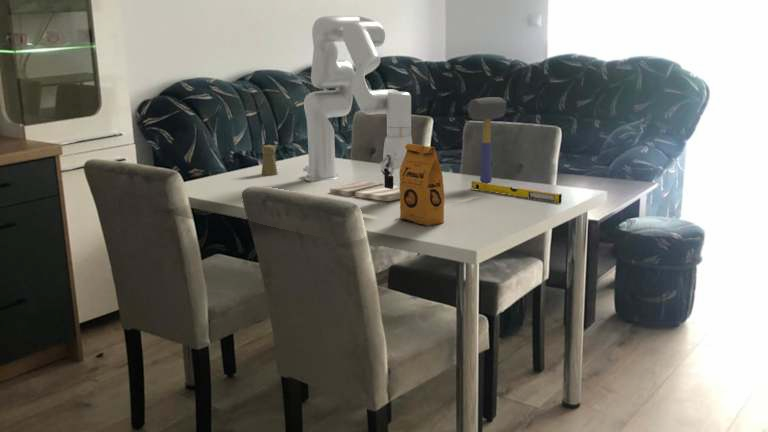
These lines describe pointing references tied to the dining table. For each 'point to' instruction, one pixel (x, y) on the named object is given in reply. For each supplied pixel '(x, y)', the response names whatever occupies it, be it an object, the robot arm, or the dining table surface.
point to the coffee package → (421, 186)
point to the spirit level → (518, 191)
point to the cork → (269, 161)
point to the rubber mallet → (486, 128)
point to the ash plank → (380, 193)
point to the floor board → (358, 186)
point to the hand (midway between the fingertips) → (398, 185)
